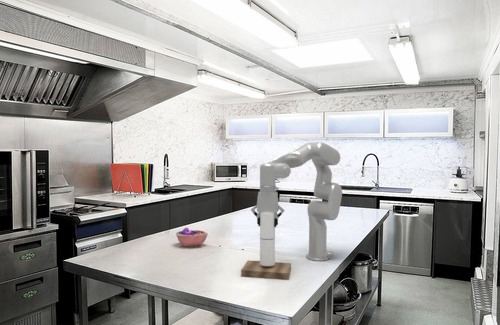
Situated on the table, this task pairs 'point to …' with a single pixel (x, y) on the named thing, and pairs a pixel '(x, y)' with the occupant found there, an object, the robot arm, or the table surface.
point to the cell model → (191, 237)
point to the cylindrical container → (267, 239)
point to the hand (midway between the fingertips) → (267, 225)
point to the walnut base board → (266, 270)
